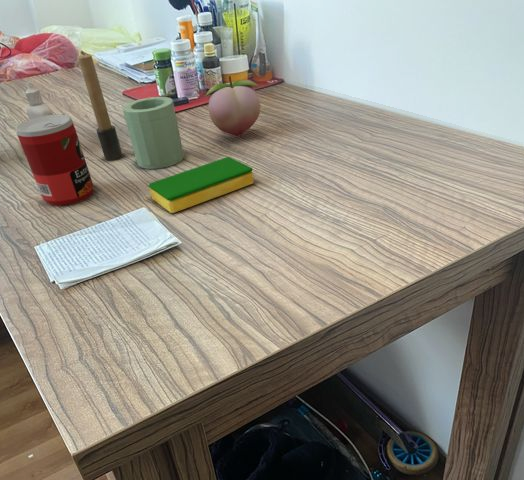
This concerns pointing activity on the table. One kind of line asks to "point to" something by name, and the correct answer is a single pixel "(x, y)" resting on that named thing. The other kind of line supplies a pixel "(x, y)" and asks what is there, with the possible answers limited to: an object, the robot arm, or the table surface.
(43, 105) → the eye dropper bottle
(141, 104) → the jar
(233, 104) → the decorative fruit
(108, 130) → the brush
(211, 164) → the dish sponge
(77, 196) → the canned food
